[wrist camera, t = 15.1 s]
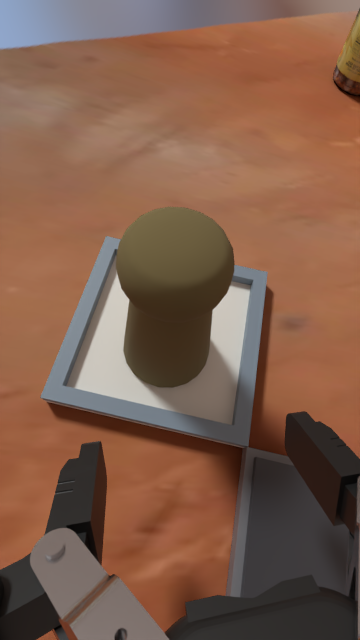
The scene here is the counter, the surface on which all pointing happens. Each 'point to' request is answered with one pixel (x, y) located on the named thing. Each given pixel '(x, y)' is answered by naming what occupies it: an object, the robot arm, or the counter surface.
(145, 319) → the olive tapered round piece
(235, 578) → the ink pad
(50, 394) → the blank framed board
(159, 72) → the counter surface
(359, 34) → the sauce bottle
